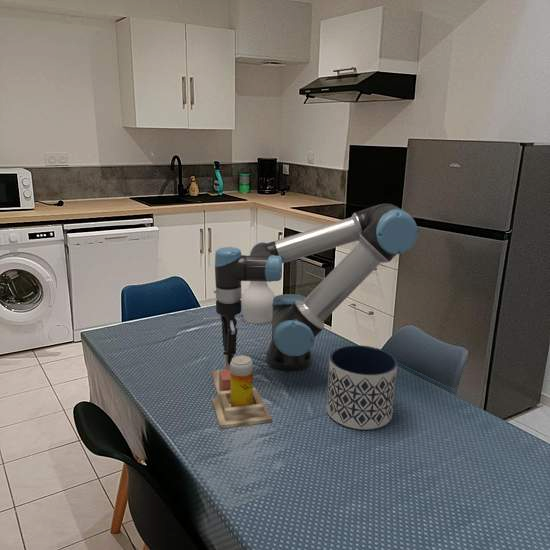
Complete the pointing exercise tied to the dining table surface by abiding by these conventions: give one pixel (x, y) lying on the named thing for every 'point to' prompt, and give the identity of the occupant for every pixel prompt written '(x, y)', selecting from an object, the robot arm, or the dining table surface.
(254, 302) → the vase
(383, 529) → the dining table surface
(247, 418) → the dock
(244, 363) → the beer can
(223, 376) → the salmon pink block
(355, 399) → the planter
